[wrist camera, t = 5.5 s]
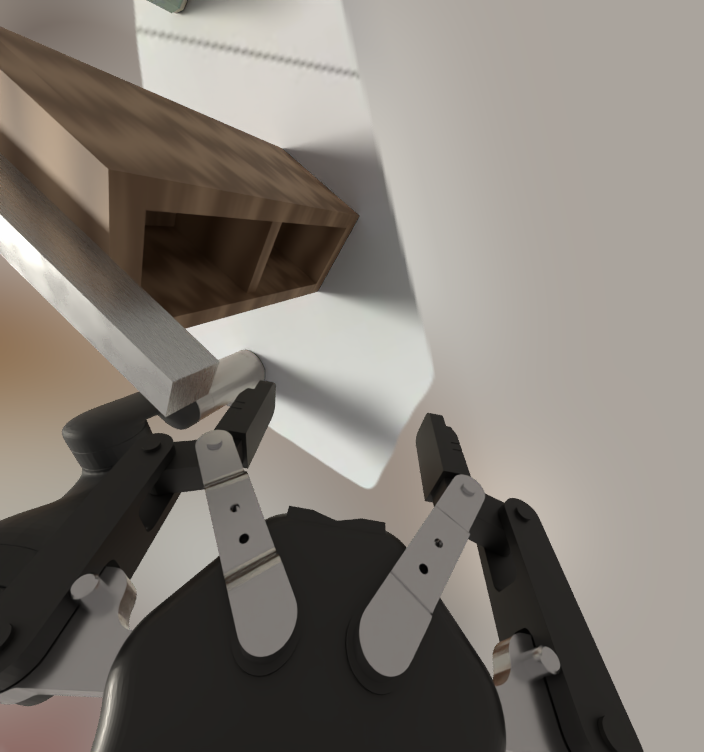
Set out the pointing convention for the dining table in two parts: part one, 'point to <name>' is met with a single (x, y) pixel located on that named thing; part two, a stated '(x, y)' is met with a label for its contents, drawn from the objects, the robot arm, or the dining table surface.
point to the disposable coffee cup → (170, 4)
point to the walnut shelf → (167, 187)
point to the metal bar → (100, 298)
